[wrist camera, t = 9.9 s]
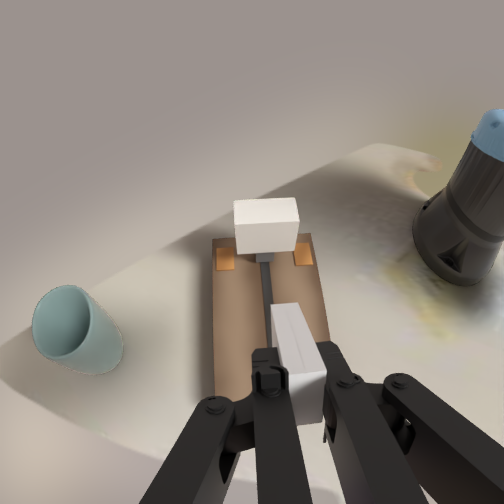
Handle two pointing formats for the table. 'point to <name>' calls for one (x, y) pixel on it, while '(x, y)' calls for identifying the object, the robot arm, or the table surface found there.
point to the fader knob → (266, 226)
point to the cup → (76, 332)
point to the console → (258, 306)
